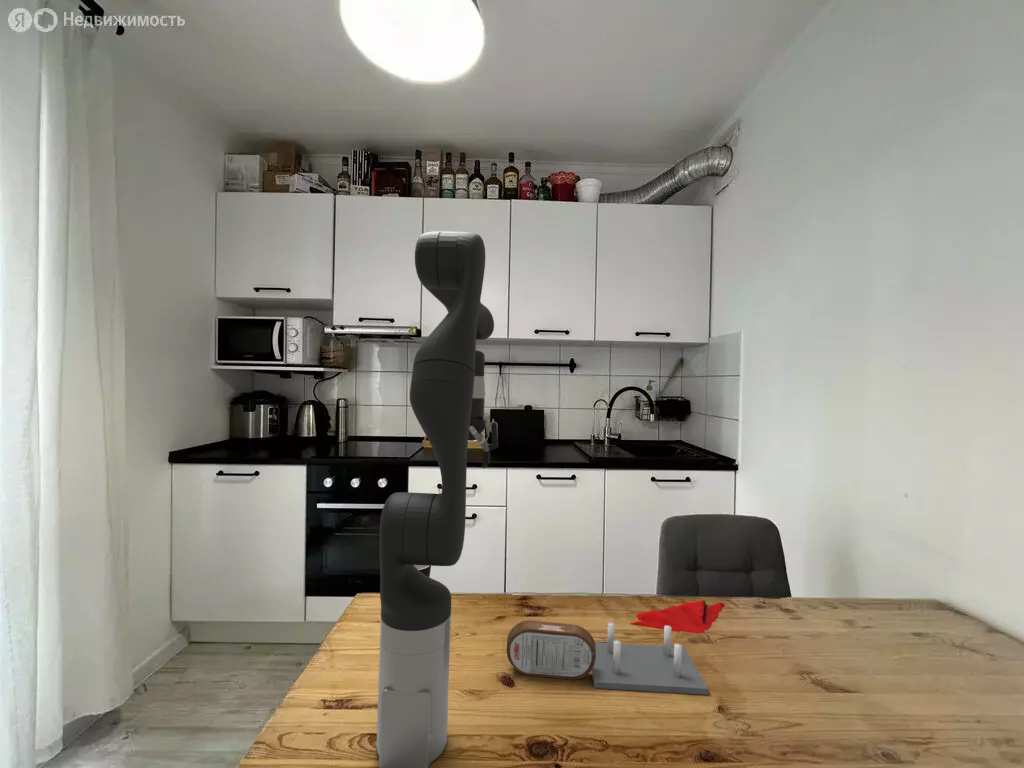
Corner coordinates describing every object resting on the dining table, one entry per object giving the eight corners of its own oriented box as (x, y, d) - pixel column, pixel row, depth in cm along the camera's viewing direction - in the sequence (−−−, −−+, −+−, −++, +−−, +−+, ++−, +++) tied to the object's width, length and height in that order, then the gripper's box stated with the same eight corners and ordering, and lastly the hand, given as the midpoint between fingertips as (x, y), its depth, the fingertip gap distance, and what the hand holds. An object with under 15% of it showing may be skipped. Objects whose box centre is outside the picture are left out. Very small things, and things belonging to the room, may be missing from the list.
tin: (594, 673, 80) (596, 623, 80) (596, 684, 77) (597, 633, 77) (506, 665, 82) (508, 616, 82) (504, 676, 79) (506, 625, 79)
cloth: (639, 641, 92) (640, 629, 92) (611, 608, 106) (612, 598, 106) (758, 632, 97) (758, 621, 97) (717, 602, 110) (717, 592, 110)
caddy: (708, 695, 75) (709, 657, 75) (594, 688, 76) (595, 650, 76) (684, 652, 87) (685, 620, 87) (586, 647, 88) (587, 614, 88)
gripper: (433, 395, 105) (431, 468, 105) (498, 397, 104) (495, 471, 104) (440, 394, 113) (438, 463, 112) (500, 396, 112) (498, 465, 112)
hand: (465, 466), depth 108 cm, fingers open, 8 cm apart
